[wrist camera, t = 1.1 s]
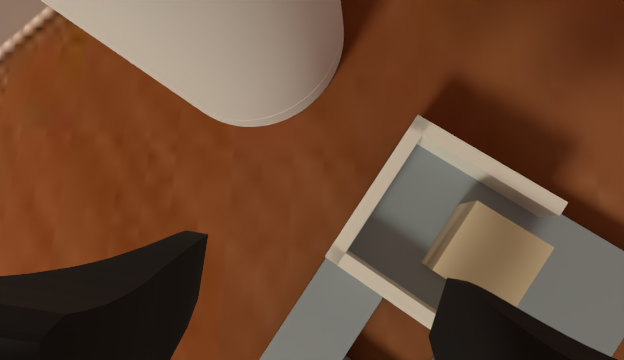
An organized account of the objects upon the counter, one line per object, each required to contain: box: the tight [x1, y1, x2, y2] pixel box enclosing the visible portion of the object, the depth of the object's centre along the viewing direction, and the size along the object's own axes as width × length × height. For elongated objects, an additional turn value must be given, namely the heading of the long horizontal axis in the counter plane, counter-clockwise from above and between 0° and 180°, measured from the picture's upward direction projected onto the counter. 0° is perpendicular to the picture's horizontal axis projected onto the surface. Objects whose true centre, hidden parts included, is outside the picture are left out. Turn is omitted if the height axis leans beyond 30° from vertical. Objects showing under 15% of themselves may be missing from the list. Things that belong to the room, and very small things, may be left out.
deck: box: [260, 144, 624, 360], centre depth 23 cm, size 16×17×2 cm
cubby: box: [325, 115, 568, 330], centre depth 22 cm, size 9×9×2 cm
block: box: [421, 201, 554, 307], centre depth 20 cm, size 4×4×4 cm
